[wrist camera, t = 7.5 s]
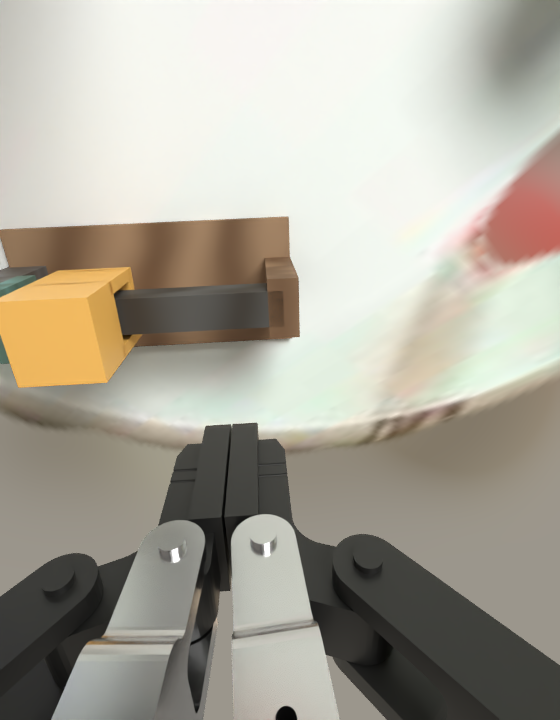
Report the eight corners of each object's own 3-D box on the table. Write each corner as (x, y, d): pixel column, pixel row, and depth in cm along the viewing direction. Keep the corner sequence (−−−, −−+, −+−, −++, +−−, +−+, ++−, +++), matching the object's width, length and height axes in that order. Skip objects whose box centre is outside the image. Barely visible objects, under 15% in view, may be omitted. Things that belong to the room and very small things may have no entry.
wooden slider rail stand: (288, 216, 32) (299, 230, 24) (291, 335, 36) (301, 384, 28) (-1, 229, 31) (-96, 248, 23) (36, 349, 35) (-33, 403, 27)
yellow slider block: (130, 267, 29) (87, 297, 21) (142, 333, 31) (107, 382, 23) (58, 270, 28) (-11, 302, 21) (75, 337, 30) (18, 387, 23)
